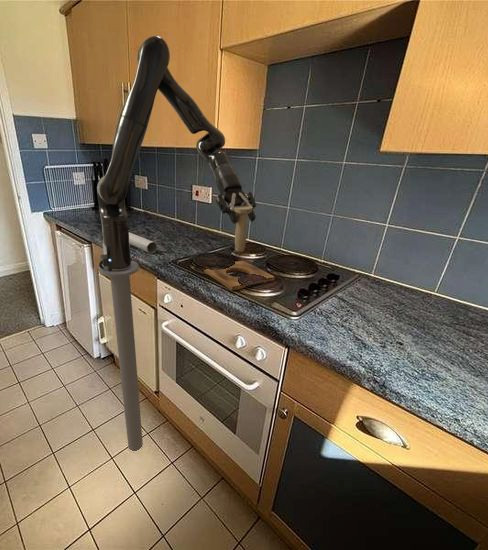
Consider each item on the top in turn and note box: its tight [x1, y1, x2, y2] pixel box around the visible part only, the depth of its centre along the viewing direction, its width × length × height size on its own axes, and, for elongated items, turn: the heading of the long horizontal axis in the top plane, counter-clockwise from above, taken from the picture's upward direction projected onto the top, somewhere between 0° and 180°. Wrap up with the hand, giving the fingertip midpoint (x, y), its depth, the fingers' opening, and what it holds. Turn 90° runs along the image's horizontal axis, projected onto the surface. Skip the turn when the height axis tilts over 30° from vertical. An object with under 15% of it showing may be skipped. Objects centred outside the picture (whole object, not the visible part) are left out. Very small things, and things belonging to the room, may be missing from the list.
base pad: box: [203, 260, 275, 292], centre depth 108 cm, size 18×18×2 cm
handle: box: [233, 205, 252, 253], centre depth 102 cm, size 5×6×15 cm
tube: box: [129, 232, 158, 255], centre depth 138 cm, size 5×5×25 cm
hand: (244, 221), depth 99 cm, fingers closed on handle, 6 cm apart
